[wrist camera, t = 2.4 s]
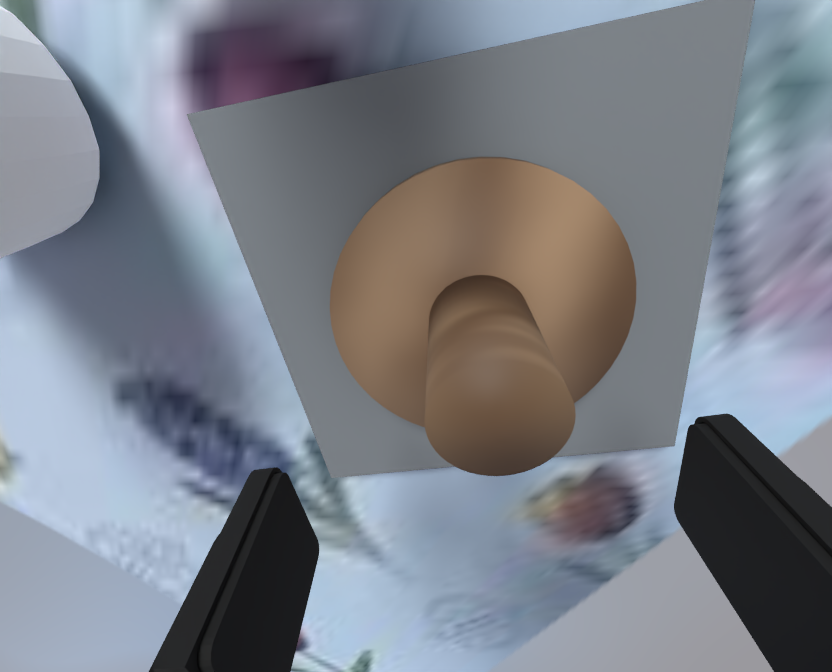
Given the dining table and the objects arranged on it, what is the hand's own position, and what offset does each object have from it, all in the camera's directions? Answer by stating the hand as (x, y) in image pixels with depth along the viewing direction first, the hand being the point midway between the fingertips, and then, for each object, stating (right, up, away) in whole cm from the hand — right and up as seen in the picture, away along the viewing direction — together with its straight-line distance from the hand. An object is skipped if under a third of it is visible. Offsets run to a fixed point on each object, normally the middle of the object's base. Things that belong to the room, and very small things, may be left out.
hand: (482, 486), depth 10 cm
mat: (+1, +5, +8) cm, 10 cm away
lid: (+1, +5, +7) cm, 9 cm away
